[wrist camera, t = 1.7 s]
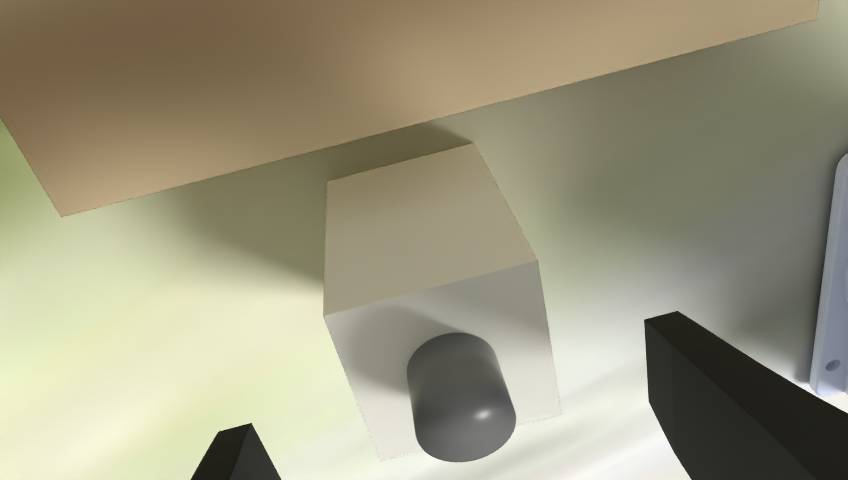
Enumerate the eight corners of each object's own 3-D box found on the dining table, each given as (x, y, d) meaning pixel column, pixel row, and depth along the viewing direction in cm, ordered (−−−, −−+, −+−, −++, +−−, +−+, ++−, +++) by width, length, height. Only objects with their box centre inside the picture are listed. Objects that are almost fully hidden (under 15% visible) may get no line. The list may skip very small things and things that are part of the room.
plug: (498, 266, 18) (586, 471, 12) (367, 300, 18) (384, 523, 12) (474, 142, 16) (564, 308, 10) (327, 180, 16) (321, 372, 10)
